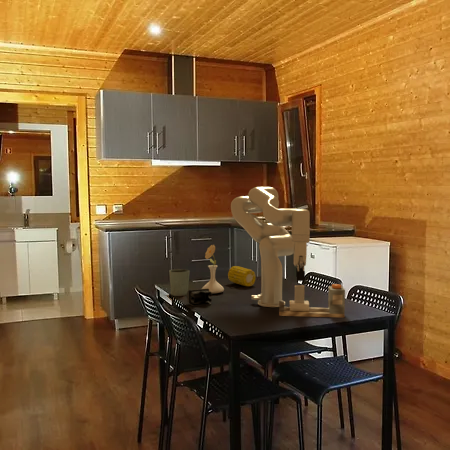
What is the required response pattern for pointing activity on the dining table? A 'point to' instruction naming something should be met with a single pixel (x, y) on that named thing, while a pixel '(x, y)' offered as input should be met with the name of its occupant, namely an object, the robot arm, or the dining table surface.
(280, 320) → the dining table surface
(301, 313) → the rail base
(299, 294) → the carriage
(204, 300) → the end cap
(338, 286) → the button
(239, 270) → the food
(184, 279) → the green tapered cup
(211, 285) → the flower in vase
